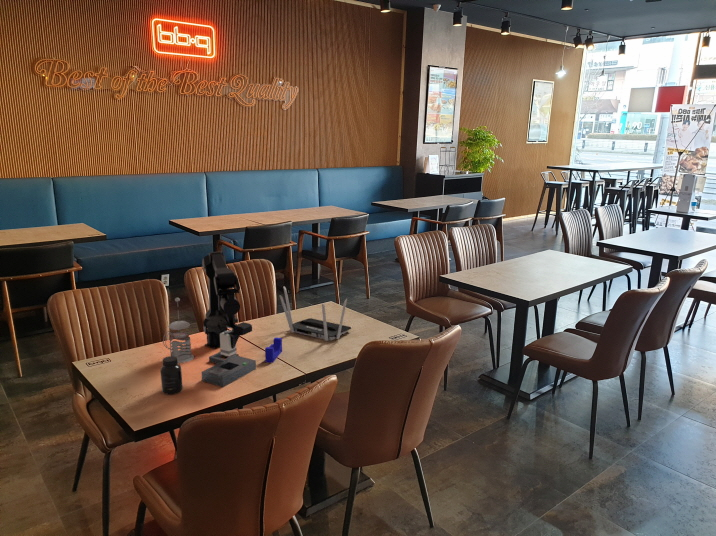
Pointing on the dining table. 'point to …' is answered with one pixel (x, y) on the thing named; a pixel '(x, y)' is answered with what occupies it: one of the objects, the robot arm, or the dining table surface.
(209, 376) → the port panel
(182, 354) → the french press
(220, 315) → the robot arm
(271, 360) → the cable clip
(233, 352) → the plug
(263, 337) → the dining table surface
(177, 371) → the supplement bottle
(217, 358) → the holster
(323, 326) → the wireless router
